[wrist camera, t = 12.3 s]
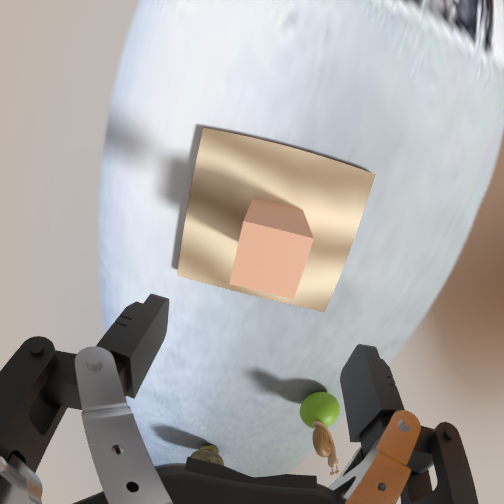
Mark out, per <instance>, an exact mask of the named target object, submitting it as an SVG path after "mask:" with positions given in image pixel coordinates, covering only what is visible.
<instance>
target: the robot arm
mask: <svg viewBox="0 0 504 504" xmlns="http://www.w3.org/2000/svg"><path fill="white" fill-rule="evenodd" d="M168 311H169V299H168V298H164V297H161V296H158V295H155V294H150V295H149V297H148V298H147V299H146V301H145V302H144V303H143V304H142V303H139V302H135V303H133V304H131V305H129V306H127V307H126V308H125V309H124V311H123V312H122V313H121V314H120V316H119V317H118V318H117V319H116V321H115V323H113V325H112V326H111V327H110V328H109V330H108V331H107V332H106V334H105V335H104V336H103V338H102V339H101V340H100V341H99V343H98V344H97V346H95V347H87V348H85V349H82V350H81V351H80V352H79V353H78V354H72V353H67V352H61V351H56V350H55V348H54V345H53V343H52V342H51V341H50V340H49V339H47V338H45V337H40V336H38V337H32V338H29V339H28V340H26V341H25V342H24V343H23V344H22V345H21V347H20V348H19V349H18V350H17V351H16V352H15V354H14V355H13V356H12V357H11V359H10V360H9V361H8V362H7V364H6V365H5V366H4V367H3V369H2V370H1V371H0V504H42V502H41V496H42V484H41V482H40V479H39V478H38V476H37V475H36V474H35V472H36V470H37V468H38V465H39V463H40V461H41V459H42V457H43V455H44V453H45V450H46V448H47V446H48V444H49V442H50V440H51V438H52V436H53V434H54V432H55V430H56V428H57V426H58V424H59V422H60V421H61V419H62V417H63V415H64V413H65V411H66V409H67V408H68V407H69V408H74V409H79V410H82V411H83V412H82V420H83V424H84V429H85V433H86V437H87V441H88V444H89V448H90V452H91V455H92V458H93V462H94V464H95V468H96V471H97V474H98V477H99V480H100V483H101V485H102V488H103V491H102V492H100V493H98V494H96V495H93V496H91V497H88V498H86V499H83V500H81V501H78V502H76V503H73V504H396V502H397V500H398V499H399V497H400V496H401V504H478V499H477V496H476V490H475V486H474V482H473V478H472V474H471V471H470V467H469V464H468V460H467V457H466V454H465V450H464V447H463V444H462V441H461V438H460V435H459V432H458V430H457V429H456V428H455V427H454V426H453V425H452V424H450V423H447V422H442V423H440V424H439V425H438V426H437V427H436V428H435V429H431V428H427V427H424V426H421V425H420V422H419V420H418V418H417V417H416V416H415V415H414V414H413V413H411V412H409V411H406V410H404V407H403V404H402V401H401V398H400V395H399V392H398V390H397V387H396V386H395V381H394V379H393V376H392V373H391V370H390V368H389V366H388V365H387V364H386V363H385V361H384V360H383V359H380V356H379V354H378V351H377V349H376V347H374V346H368V345H362V344H359V345H357V346H356V348H355V349H354V351H353V353H352V354H351V356H350V358H349V359H348V361H347V363H346V364H345V366H344V368H343V370H342V372H341V377H340V382H341V388H342V393H343V399H344V405H345V410H346V416H347V422H348V428H349V435H350V442H361V447H360V448H359V449H358V450H357V451H356V453H355V455H354V456H353V457H352V459H351V461H350V462H349V463H348V465H347V466H346V467H345V469H344V470H343V472H342V473H341V474H340V476H339V477H338V478H337V479H336V480H335V482H334V483H332V484H331V485H330V486H329V487H328V488H327V487H325V486H323V485H320V484H317V477H316V476H308V475H290V474H284V475H277V476H268V477H256V478H255V477H250V476H247V475H245V474H242V473H240V472H237V471H235V470H232V469H230V468H227V467H225V466H223V465H220V464H216V463H211V462H207V461H203V460H198V459H195V458H191V457H188V458H187V461H186V463H172V464H164V465H159V466H155V467H154V465H153V463H152V460H151V458H150V456H149V454H148V451H147V449H146V447H145V444H144V442H143V439H142V437H141V434H140V432H139V429H138V427H137V424H136V421H135V419H134V416H133V413H132V411H131V408H130V407H129V406H128V404H127V401H126V398H125V397H126V396H129V397H131V398H135V396H136V394H137V392H138V390H139V388H140V386H141V384H142V382H143V380H144V378H145V376H146V374H147V372H148V370H149V368H150V366H151V364H152V362H153V360H154V359H155V357H156V355H157V353H158V351H159V349H160V347H161V345H162V343H163V341H164V338H165V335H166V331H167V323H168ZM433 465H434V466H435V471H436V475H437V480H438V483H437V487H436V488H435V490H434V491H432V486H431V482H430V476H429V471H428V468H430V467H431V466H433Z"/></svg>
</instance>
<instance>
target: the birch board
mask: <svg viewBox="0 0 504 504" xmlns="http://www.w3.org/2000/svg"><path fill="white" fill-rule="evenodd" d="M374 177H375V174H373V173H370V172H368V171H365V170H362V169H359V168H356V167H353V166H351V165H348V164H345V163H342V162H339V161H335V160H332V159H329V158H326V157H323V156H319V155H316V154H313V153H309V152H306V151H302V150H299V149H295V148H292V147H288V146H284V145H280V144H277V143H273V142H269V141H264V140H260V139H256V138H252V137H247V136H243V135H238V134H233V133H228V132H223V131H218V130H213V129H208V128H203V132H202V136H201V140H200V145H199V150H198V154H197V159H196V164H195V169H194V174H193V179H192V184H191V190H190V195H189V201H188V206H187V212H186V218H185V224H184V231H183V237H182V244H181V251H180V258H179V265H178V273H177V276H180V277H184V278H188V279H191V280H195V281H199V282H202V283H206V284H210V285H214V286H218V287H221V288H225V289H229V290H233V291H237V292H241V293H245V294H249V295H253V296H257V297H261V298H265V299H269V300H273V301H278V302H282V303H286V304H291V305H295V306H299V307H304V308H308V309H313V310H317V311H322V312H325V311H326V308H327V306H328V304H329V301H330V299H331V297H332V294H333V292H334V289H335V287H336V284H337V282H338V280H339V277H340V275H341V272H342V269H343V267H344V264H345V262H346V259H347V257H348V254H349V251H350V248H351V246H352V243H353V240H354V238H355V235H356V232H357V229H358V226H359V223H360V220H361V218H362V215H363V212H364V209H365V206H366V202H367V199H368V196H369V193H370V190H371V187H372V183H373V180H374ZM253 197H254V198H258V199H262V200H266V201H270V202H274V203H278V204H282V205H286V206H290V207H294V208H298V209H301V210H303V211H304V214H305V217H306V219H307V222H308V224H309V227H310V230H311V232H312V235H313V237H314V240H313V243H312V246H311V249H310V253H309V256H308V259H307V262H306V265H305V268H304V271H303V274H302V277H301V280H300V283H299V286H298V288H297V291H296V294H295V297H294V299H291V298H286V297H282V296H278V295H273V294H269V293H265V292H260V291H256V290H252V289H248V288H244V287H240V286H235V285H231V284H229V283H230V279H231V274H232V269H233V265H234V260H235V256H236V251H237V247H238V243H239V238H240V234H241V229H242V225H243V221H244V218H245V216H246V214H247V211H248V209H249V206H250V204H251V202H252V199H253Z"/></svg>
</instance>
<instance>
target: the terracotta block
mask: <svg viewBox="0 0 504 504" xmlns="http://www.w3.org/2000/svg"><path fill="white" fill-rule="evenodd" d="M313 240H314V237H313V235H312V232H311V230H310V227H309V224H308V222H307V219H306V217H305V214H304V211H303V210H301V209H298V208H294V207H290V206H286V205H282V204H278V203H274V202H270V201H266V200H262V199H258V198H254V197H253V199H252V202H251V204H250V206H249V209H248V211H247V214H246V216H245V218H244V221H243V225H242V229H241V234H240V238H239V243H238V247H237V251H236V256H235V260H234V265H233V269H232V274H231V279H230V283H229V284H231V285H235V286H240V287H244V288H248V289H252V290H256V291H260V292H265V293H269V294H273V295H278V296H282V297H286V298H291V299H294V297H295V294H296V291H297V288H298V286H299V283H300V280H301V277H302V274H303V271H304V268H305V265H306V262H307V259H308V256H309V253H310V249H311V246H312V243H313Z"/></svg>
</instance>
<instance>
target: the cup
mask: <svg viewBox="0 0 504 504" xmlns="http://www.w3.org/2000/svg"><path fill="white" fill-rule="evenodd" d="M218 453H219V450H218V448H217V447H215V446H213V445H210V444H204V445H202V446H201V447H200V450H198V451H196V452H194V453H193V454H192V455H191V456H190V457H191V458H195V459H198V460H203V461H207V462H211V463H216V464H220V465H223V466H224V463H223V459H222V458H221V456H220V455H218Z"/></svg>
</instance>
